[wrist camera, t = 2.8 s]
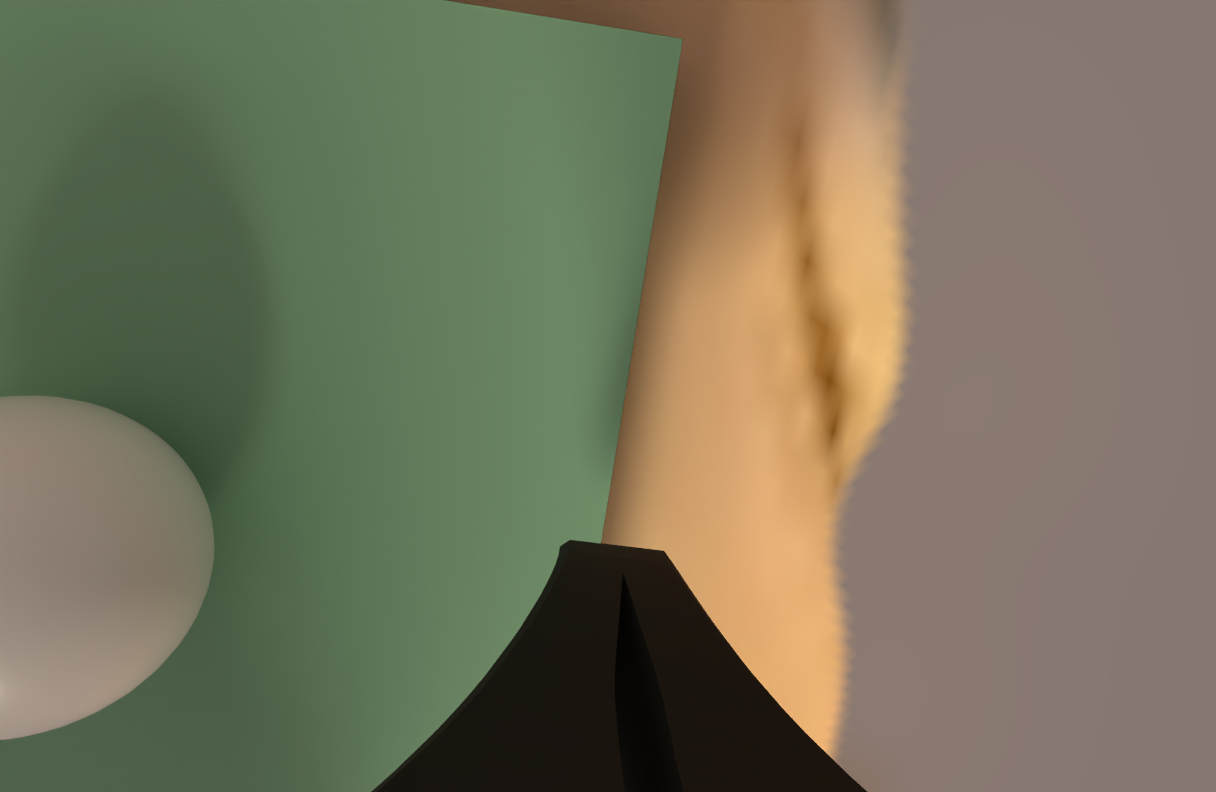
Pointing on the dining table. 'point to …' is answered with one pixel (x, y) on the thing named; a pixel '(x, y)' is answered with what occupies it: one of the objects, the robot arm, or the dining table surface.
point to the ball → (91, 559)
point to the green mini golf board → (329, 342)
